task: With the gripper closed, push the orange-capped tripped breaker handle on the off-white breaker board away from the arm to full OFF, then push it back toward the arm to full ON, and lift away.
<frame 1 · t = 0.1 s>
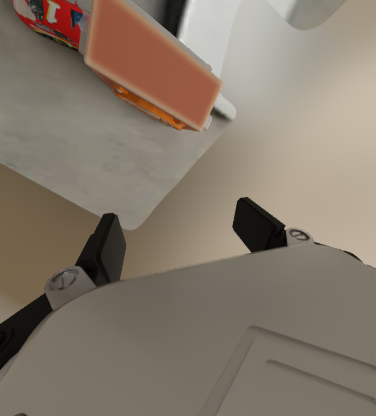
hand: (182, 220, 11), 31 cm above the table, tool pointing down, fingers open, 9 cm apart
control panel: (154, 101, 32), on the table
race car: (73, 31, 25), on the table
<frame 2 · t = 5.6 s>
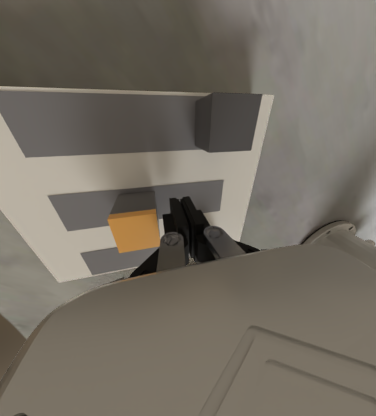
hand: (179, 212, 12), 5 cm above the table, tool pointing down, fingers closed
tripped breaker handle: (138, 219, 11), point 5 cm above the table, slide at 0.8 cm, touching gripper
breaker board: (148, 191, 16), on the table
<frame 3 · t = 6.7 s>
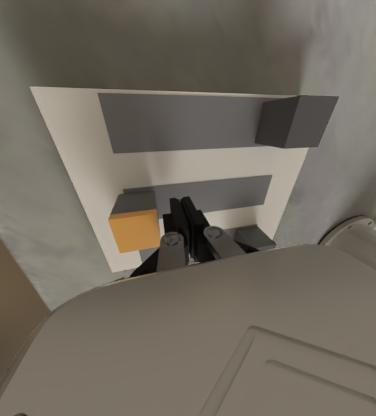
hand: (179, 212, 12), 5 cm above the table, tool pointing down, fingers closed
tripped breaker handle: (139, 219, 11), point 5 cm above the table, slide at 6.3 cm, touching gripper
breaker board: (196, 187, 17), on the table
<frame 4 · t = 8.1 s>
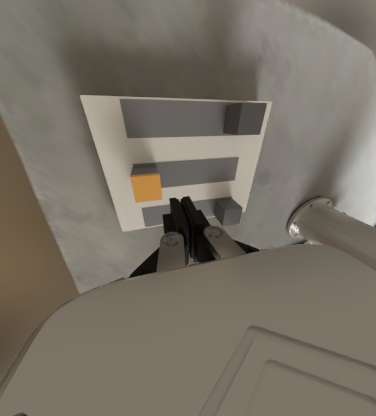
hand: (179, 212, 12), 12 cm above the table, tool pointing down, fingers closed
tripped breaker handle: (147, 183, 17), point 5 cm above the table, slide at 6.1 cm
breaker board: (185, 167, 23), on the table
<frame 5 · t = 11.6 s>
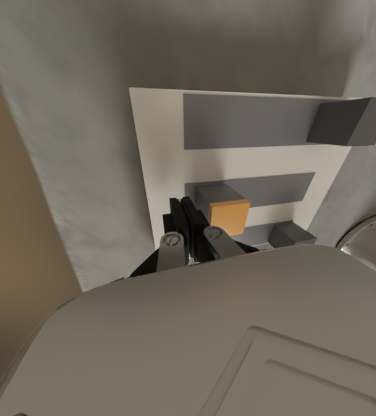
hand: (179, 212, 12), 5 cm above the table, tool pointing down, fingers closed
tripped breaker handle: (218, 209, 13), point 5 cm above the table, slide at 4.9 cm, touching gripper
breaker board: (237, 183, 18), on the table
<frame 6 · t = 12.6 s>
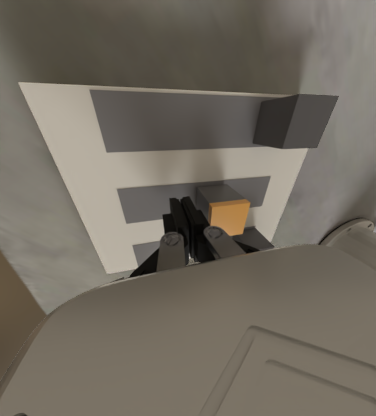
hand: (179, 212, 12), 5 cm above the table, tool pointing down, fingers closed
tripped breaker handle: (218, 209, 13), point 5 cm above the table, slide at -0.9 cm, touching gripper
breaker board: (193, 187, 17), on the table
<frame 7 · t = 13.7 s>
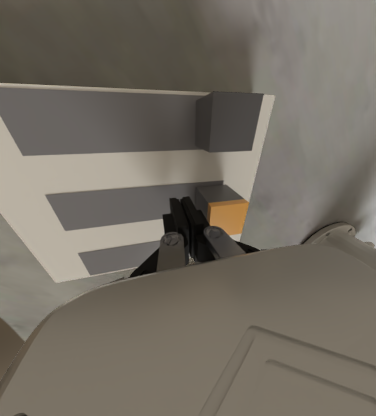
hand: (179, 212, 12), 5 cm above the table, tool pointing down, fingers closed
tripped breaker handle: (217, 209, 13), point 5 cm above the table, slide at -6.1 cm, touching gripper
breaker board: (148, 191, 16), on the table
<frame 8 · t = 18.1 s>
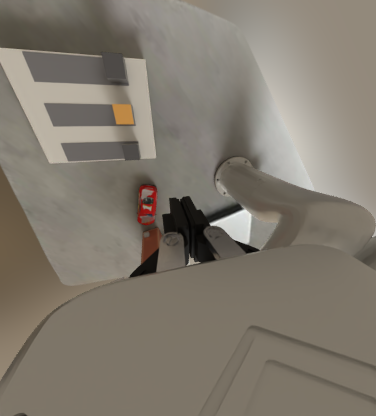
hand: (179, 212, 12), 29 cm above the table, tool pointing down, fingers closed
tripped breaker handle: (124, 115, 27), point 5 cm above the table, slide at -6.1 cm
control panel: (157, 241, 51), on the table
race car: (147, 203, 43), on the table
breaker board: (98, 116, 30), on the table
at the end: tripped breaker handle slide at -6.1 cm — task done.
